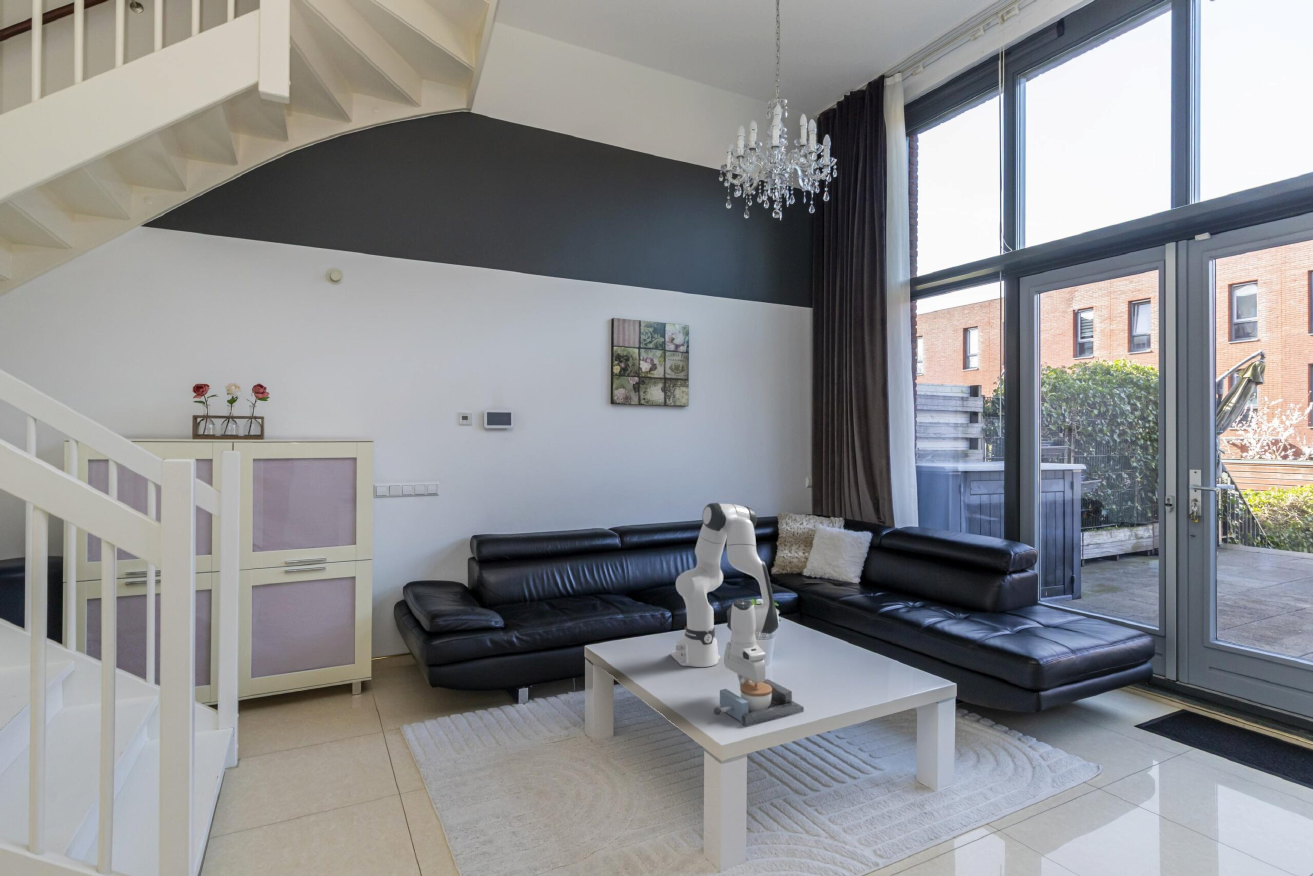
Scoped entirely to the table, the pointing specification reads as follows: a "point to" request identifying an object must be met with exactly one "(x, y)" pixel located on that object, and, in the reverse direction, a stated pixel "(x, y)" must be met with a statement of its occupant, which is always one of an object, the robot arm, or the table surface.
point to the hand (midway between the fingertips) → (744, 687)
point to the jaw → (732, 705)
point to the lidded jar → (756, 695)
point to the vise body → (782, 703)
